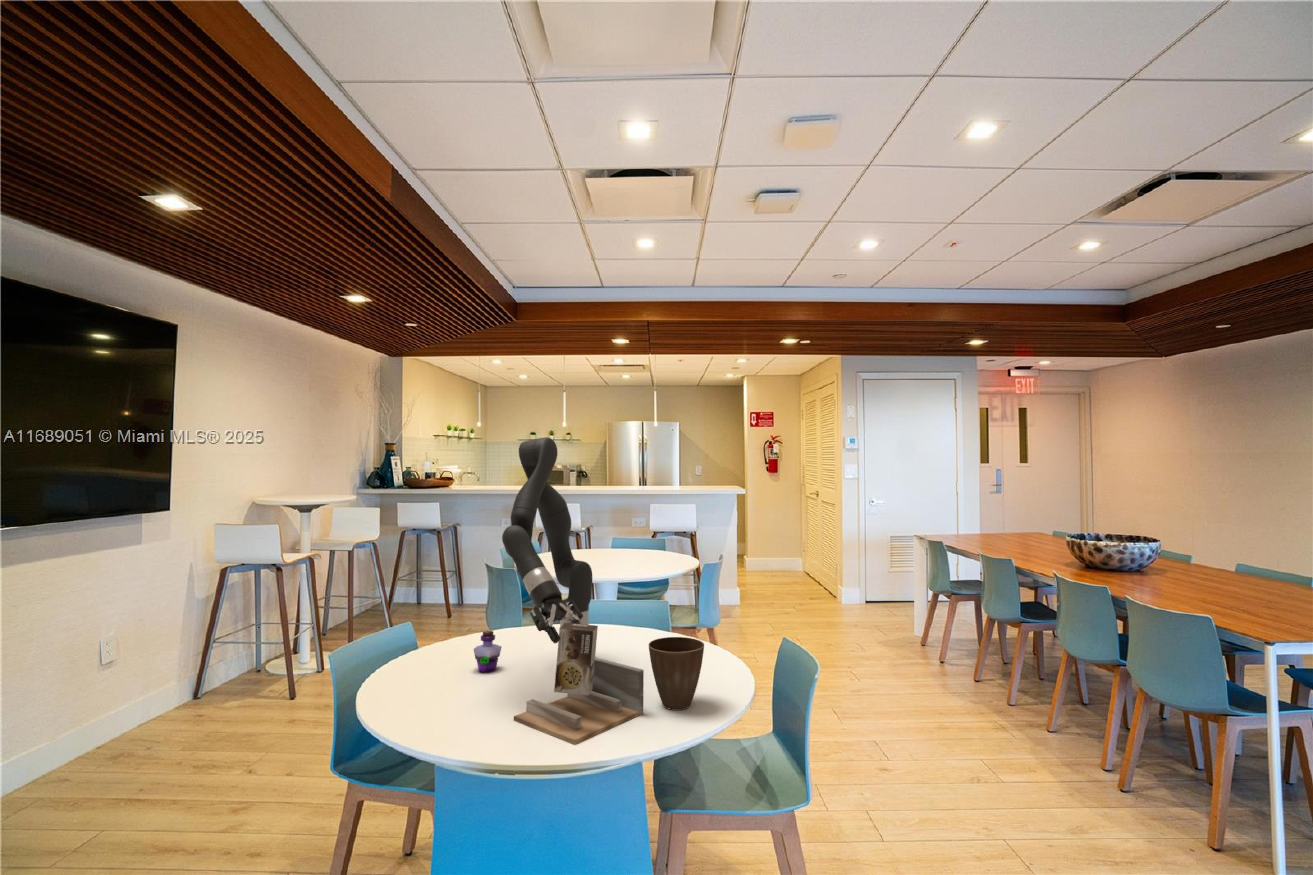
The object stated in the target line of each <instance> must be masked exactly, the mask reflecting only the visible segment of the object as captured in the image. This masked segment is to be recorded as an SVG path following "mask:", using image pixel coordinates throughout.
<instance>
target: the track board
mask: <svg viewBox="0 0 1313 875" xmlns="http://www.w3.org/2000/svg"><path fill="white" fill-rule="evenodd" d="M566 695H567V696H565V697H562V698H560V699H557V700H554V701H552V702H548V703H545V702H542V701H539V700H535V699H533V698H532V699H530V700H527V701H526V704H525V705H526V707H525V708H526V711H523V712H521V713H519V714H515V715H513V722H516V723H520V724H521V725H524V726H527V727H529V728H531V729H535V730H537V731H539V732H542V733H545V734H547V735H549V736H552V737H554V738H557V739H559V740H562V741H564V742H566V743H569V744H572V745H577V744H579V743H581V742H584V741H586V740H588V739H590V738H593V737H594V736H597V735H599V734H601V733H604V732H606V731H608V730H610V729H612V728H615V727H616V726H619V725H621V724H624V723H626V722H628V721H630V720H632V719H634V718H637V717H639V716H641V715H644V669H642V668H639V667H635V666H630V665H628V664H624V663H619V662H616V661H612V660H608V659H605V658H604V659H603V658H599V657H596V656H595V665H594V677H593V689H592V691H591V692H590V694H589V695H588V696H587V695H578V694H568V693H566ZM640 714H641V715H640ZM638 715H639V716H638ZM636 716H637V717H636ZM629 719H630V720H629Z"/></svg>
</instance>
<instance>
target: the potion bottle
mask: <svg viewBox="0 0 1313 875" xmlns="http://www.w3.org/2000/svg"><path fill="white" fill-rule="evenodd" d="M495 640H496V634H494V631H493V630H484V631H482V635H480V641H481V642H482V644H480V645H476V647H474V648H473V653H474V659H475V660H476V664H477V669H478V672H479V673H481V674H482V673H483V674H489V673H494V672H496V671H497V666H498V662H499V661H498V660H499V657H500V656H501V652H502V645H498V644H496V643H493V642H494V641H495Z"/></svg>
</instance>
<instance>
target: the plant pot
mask: <svg viewBox="0 0 1313 875" xmlns="http://www.w3.org/2000/svg"><path fill="white" fill-rule="evenodd" d="M704 649H705V643H704V642H703V641H702V640H699V639H697V638H696V639H695V638H691V637H683V636H671V637H670V636H669V637H668V636H666V637H660V638H656V639H653V640H652V641H650V642H649V643H648V650H649V658H650V665H651V668H652V673H653V674H652V675H653V678H654V682H655V686H656V689H657V692H658V695H659V698H660V701H661V704H662V706H663V705H664V706H665V707H666V708H665V707H664V706H663V707H664V708H665V709H667V708H670V709H669V710H671V709H683V710H685V709H684V708H687V707H689V706H690V707H691V706H692V702H693V699H694V697H695V693H696V690H697V687H698V684H699V679H700V674H701V669H702V664H703V658H704V651H705V650H704ZM690 707H689V708H690ZM687 709H688V708H687Z"/></svg>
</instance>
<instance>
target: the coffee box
mask: <svg viewBox="0 0 1313 875" xmlns="http://www.w3.org/2000/svg"><path fill="white" fill-rule="evenodd" d="M558 635H559V636H560V640H559V641H558V643H557V655H556V656H557V657H556V664H555V665H556V668H555V678H554V689H553V692H554V693H559V694H567V693H568V694H578V695H587V696H588V695H589V694H590V692H591V691H592V689H593V677H594V665H595V657H596V653H597V652H596V651H597V636H598V625H594V624H593V625H592V624H589V625H584V624H574V623H564V624H563V625H562V627H561V628H560V627H559V628H558Z"/></svg>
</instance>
